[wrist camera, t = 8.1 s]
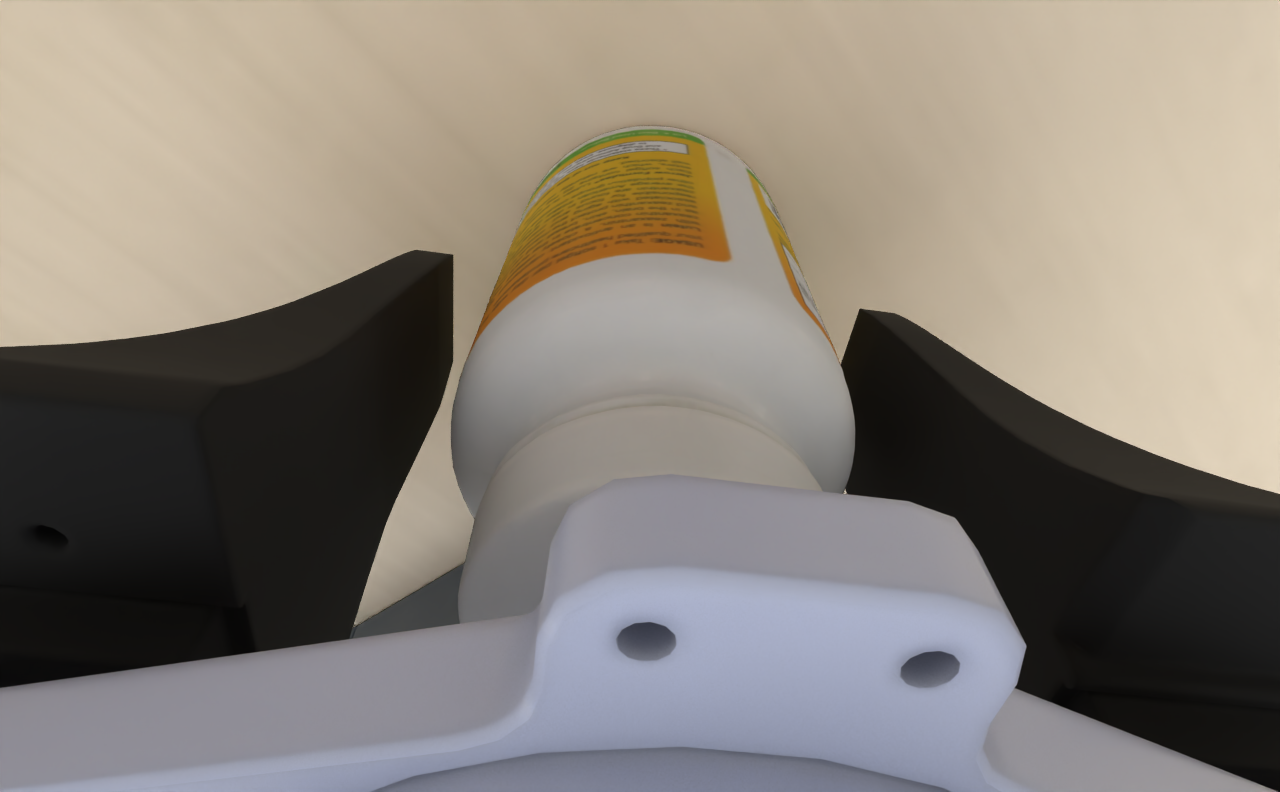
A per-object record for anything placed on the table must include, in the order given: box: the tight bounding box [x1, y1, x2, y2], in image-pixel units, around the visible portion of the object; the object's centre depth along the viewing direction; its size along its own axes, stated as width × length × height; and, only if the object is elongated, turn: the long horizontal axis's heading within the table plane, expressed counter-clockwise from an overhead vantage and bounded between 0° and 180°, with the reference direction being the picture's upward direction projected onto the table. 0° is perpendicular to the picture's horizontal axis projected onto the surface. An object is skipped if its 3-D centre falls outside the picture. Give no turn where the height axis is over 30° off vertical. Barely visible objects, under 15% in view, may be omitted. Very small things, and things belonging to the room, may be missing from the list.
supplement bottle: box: [451, 126, 855, 624], centre depth 12 cm, size 5×5×10 cm
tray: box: [349, 563, 465, 639], centre depth 21 cm, size 13×13×4 cm
